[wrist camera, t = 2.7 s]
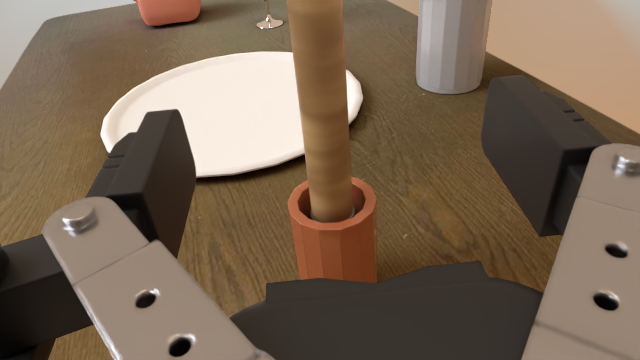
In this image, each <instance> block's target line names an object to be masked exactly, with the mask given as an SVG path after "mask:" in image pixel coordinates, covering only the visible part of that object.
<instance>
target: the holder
mask: <svg viewBox="0 0 640 360" xmlns="http://www.w3.org/2000/svg"><path fill="white" fill-rule="evenodd" d="M351 180H352V199H353V206H354V209H355V216H354V217H353V218H350V219H347V220H344V221H341V222H334V223H321V222H318V221H315V220H311V215H310V211H311V201H310V193H309V184H308V180H307V181H305V182H304V183H302V184H301V185H300V186H298V187H297V188H295V189H294V190H293V192H292V194H291V196H290V198H289V200H288V209H289V216H290V222H291V228H292V234H293V241H294V247H295V253H296V260H297V266H298V272H299V278H300V280H303V279H313V278H326V279H337V280H347V281H357V282H368V283H377V208H376V197H375V195H374V193H373V190H372V188H371V187H370V186H369V185H368V184H366V183H365V182H363V181H362V180H360V179H358V178H354V177H351Z"/></svg>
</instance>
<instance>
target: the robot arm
mask: <svg viewBox="0 0 640 360" xmlns="http://www.w3.org/2000/svg"><path fill="white" fill-rule="evenodd" d="M481 140H482V147H483V150H484V153H485V155H486V156H487V158H488V159H489V161H490V162H491V164H492V165H493V167H494V168H495V170H496V171H497V173H498V174H499V176H500V178H501V179H502V181H503V182H504V184H505V185H506V187H507V188H508V190H509V191H510V193H511V194H512V196H513V197H514V199H515V200H516V202H517V203H518V205H519V206H520V208H521V209H522V211H523V212H524V214H525V215H526V217H527V218H528V220H529V221H530V223H531V224H532V226H533V227H534V229H535V230H536V232H537V233H538V235H539V236H540V237H542V236H552V235H562V236H563V238H562V241H561V244H560V247H559V250H558V253H557V256H556V259H555V262H554V265H553V268H552V271H551V274H550V277H549V280H548V283H547V286H546V289H545V291H544V294H543V293H541V292H539V291H537V290H535V289H533V288H530V287H527V286H525V285H522V284H519V283H516V282H512V281H509V280H504V279H499V278H493V277H488V276H487V274H486V272H485V270H484V268H483V266H482V264H481V261H474V262H465V263H455V264H446V265H436V266H428V267H424V268H421V269H418V270H415V271H412V272H409V273H406V274H403V275H400V276H397V277H394V278H391V279H388V280H385V281H382V282H377V283H368V282H357V281H347V280H337V279H326V278H313V279H303V280H294V281H284V282H274V283H266V300H264V301H262V302H259V303H256V304H254V305H252V306H249V307H247V308H245V309H243V310H242V311H240V312H238V313H236V314H235V315H233V316H232V317H230V318H228V316H227V315H226V314H225V313H224V312H223V311H222V310H221V309H220V307H219V306H218V305H217V304H216V303H215V302H214V301H213V300H212V299H211V297H210V296H209V295H208V294H207V293H206V292H205V291H204V290H203V289H202V287H201V286H200V285H199V284H198V283H197V282H196V281H195V280H194V278H193V277H192V276H191V275H190V274H189V273H188V272H187V271H186V270H185V268H184V267H183V266H182V265H181V264H180V263H179V262H178V261H177V256H178V252H179V248H180V244H181V240H182V236H183V232H184V228H185V224H186V220H187V216H188V212H189V208H190V204H191V200H192V196H193V192H194V188H195V184H196V167H195V162H194V158H193V154H192V151H191V147H190V144H189V140H188V137H187V133H186V130H185V126H184V123H183V119H182V116H181V114H180V112H179V110H178V109H170V110H161V111H151V112H147V113H146V114H145V116H144V118H143V120H142V122H141V124H140V126H139V128H138V130H137V132H131V133H128V134H127V135H125V136H124V137H123V138H122V139H121V140H119V141H118V142H117V143H116V144H115V145H114V147H113V148H112V150H111V152H110V154H109V156H108V159H106V161H105V163H104V165H103V166H102V167H103V169H101V170H100V172H99V174H98V176H97V177H96V179H95V181H94V183H93V185H92V186H91V188H90V190H89V192H88V194H87V195H86V197H85V198H84V199H80V200H77V201H74V202H71V203H69V204H67V205H65V206H63V207H62V208H60V209H58V210H57V211H56V212H54V213H53V214H52V215H51V216H50V217H49V218H48V219H47V221H46V222H45V224H44V226H43V229H42V233H43V234H41V235H38V236H35V237H32V238H29V239H26V240H22V241H19V242H16V243H13V244H9V245H6V246H3V247H2V246H1V244H0V360H48V358H49V355H50V353H51V350H52V347H53V345H54V342H55V339H56V338H58V337H61V336H64V335H66V334H69V333H72V332H75V331H77V330H80V329H83V328H85V327H88V326H91V325H95V327H96V329H97V330H98V332H99V334H100V336H101V337H102V339H103V341H104V343H105V344H106V346H107V348H108V350H109V351H110V353H111V355H112V356H113V358H114V360H640V147H638V146H634V145H628V144H612V143H611V142H610V141H609V140H607V139H606V138H605V137H604V136H603V135H602V134H601V133H600V132H599V131H597V130H596V129H595V128H594V127H593V126H592V125H591V124H590V123H589V122H587V121H584V118H583V117H582V116H581V115H580V114H579V113H577V112H575V110H574V109H573V108H572V107H571V106H570V105H569V104H567V103H566V102H565V101H564V100H563V99H561V98H558V97H556V96H554V95H552V94H550V93H547V92H545V91H544V92H542V91H541V90H540V89H539V88H538V87H537V86H536V85H535V84H534V83H533V82H531V81H530V80H529V79H528V78H527V77H526V76H525V75H515V76H505V77H496V78H492V79H491V81H490V83H489V86H488V92H487V99H486V105H485V112H484V119H483V125H482V132H481Z"/></svg>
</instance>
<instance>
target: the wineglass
mask: <svg viewBox="0 0 640 360" xmlns="http://www.w3.org/2000/svg"><path fill="white" fill-rule="evenodd" d="M264 1H265V5H266V12H267V17H266V19H265V20H263V21H261V22H259V23H257V25H256V26H257V27H258V28H263V29H267V28H275V27H278V26H280V25H282V24H283V21H282V20H279V19H272V18H271V16H270V12H269V6H268V0H264Z"/></svg>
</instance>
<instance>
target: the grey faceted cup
mask: <svg viewBox="0 0 640 360" xmlns="http://www.w3.org/2000/svg"><path fill="white" fill-rule="evenodd" d="M491 6H492V0H419V18H418V40H417V63H416V82H417V84H418V85H419V86H420V87H421V88H423V89H425V90H427V91H430V92H434V93H439V94H460V93H465V92H469V91H472V90H474V89H476V88H477V87H478V86H479V85H480V83H481V79H482V73H483V65H484V58H485V50H486V42H487V35H488V28H489V21H490V13H491Z"/></svg>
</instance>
